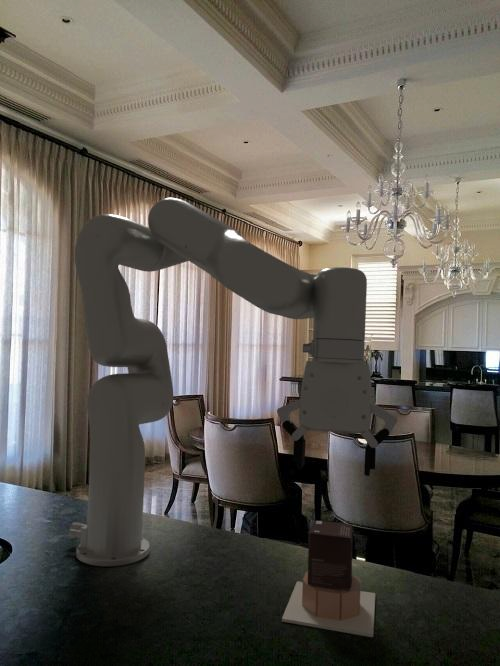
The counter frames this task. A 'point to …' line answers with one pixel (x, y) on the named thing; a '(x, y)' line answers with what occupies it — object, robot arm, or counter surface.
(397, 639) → the counter surface
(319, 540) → the box
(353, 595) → the bowl
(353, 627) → the placemat
